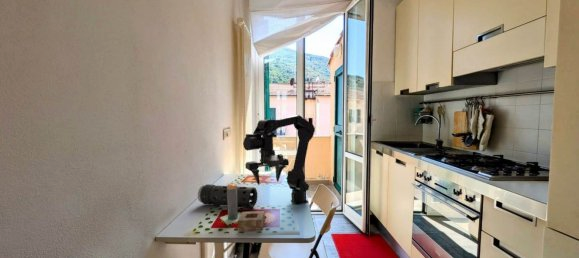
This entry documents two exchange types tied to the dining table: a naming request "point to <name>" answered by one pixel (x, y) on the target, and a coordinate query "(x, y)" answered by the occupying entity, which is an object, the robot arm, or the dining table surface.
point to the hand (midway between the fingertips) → (268, 182)
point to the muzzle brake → (219, 196)
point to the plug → (232, 201)
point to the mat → (227, 221)
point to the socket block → (251, 221)
